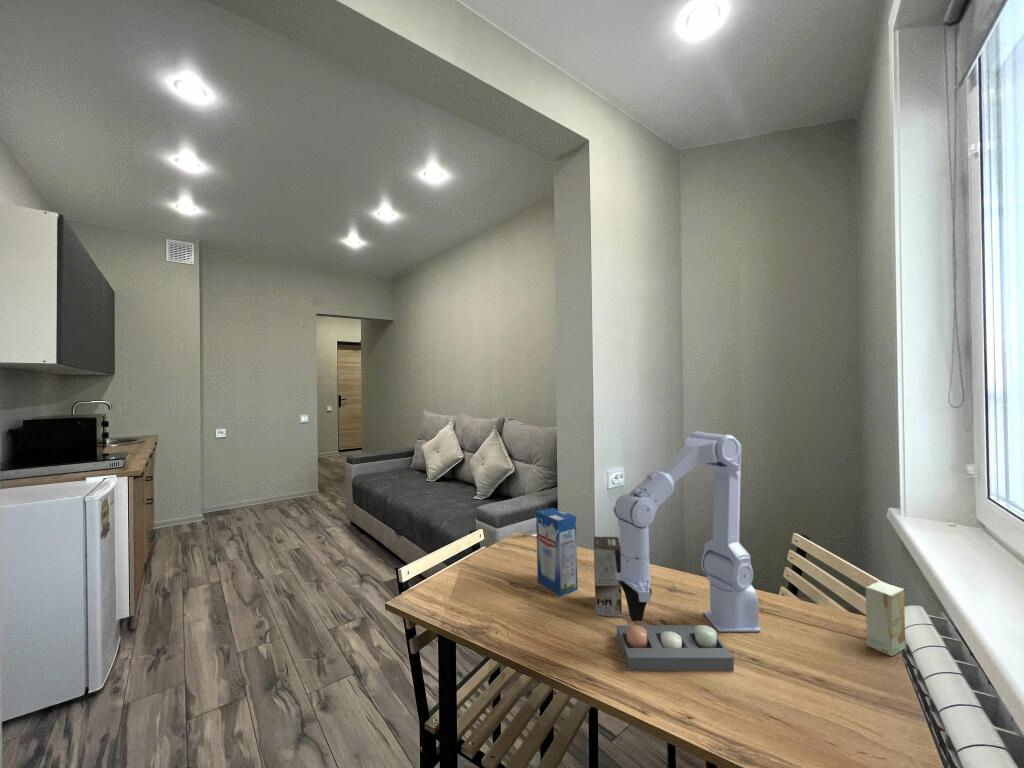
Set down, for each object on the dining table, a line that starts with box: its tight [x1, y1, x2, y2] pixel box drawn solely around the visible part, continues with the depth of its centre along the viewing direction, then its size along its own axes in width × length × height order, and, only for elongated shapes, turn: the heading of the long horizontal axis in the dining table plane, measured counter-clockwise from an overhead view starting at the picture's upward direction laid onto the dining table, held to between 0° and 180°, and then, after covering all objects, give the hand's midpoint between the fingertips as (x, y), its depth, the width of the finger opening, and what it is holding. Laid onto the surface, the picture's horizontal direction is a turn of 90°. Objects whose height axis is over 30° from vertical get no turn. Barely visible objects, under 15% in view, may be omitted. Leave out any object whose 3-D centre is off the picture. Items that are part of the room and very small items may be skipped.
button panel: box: [616, 624, 735, 672], centre depth 86 cm, size 20×11×2 cm, turn 88°
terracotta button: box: [627, 624, 647, 648], centre depth 87 cm, size 4×4×3 cm
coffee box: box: [593, 536, 623, 618], centre depth 105 cm, size 9×6×16 cm
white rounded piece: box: [661, 631, 682, 648], centre depth 86 cm, size 4×4×3 cm
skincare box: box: [865, 580, 906, 657], centre depth 87 cm, size 6×4×12 cm
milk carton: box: [535, 507, 578, 597], centre depth 116 cm, size 10×6×20 cm, turn 33°
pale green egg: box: [695, 624, 717, 648], centre depth 86 cm, size 4×4×3 cm
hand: (636, 619), depth 87 cm, fingers closed
